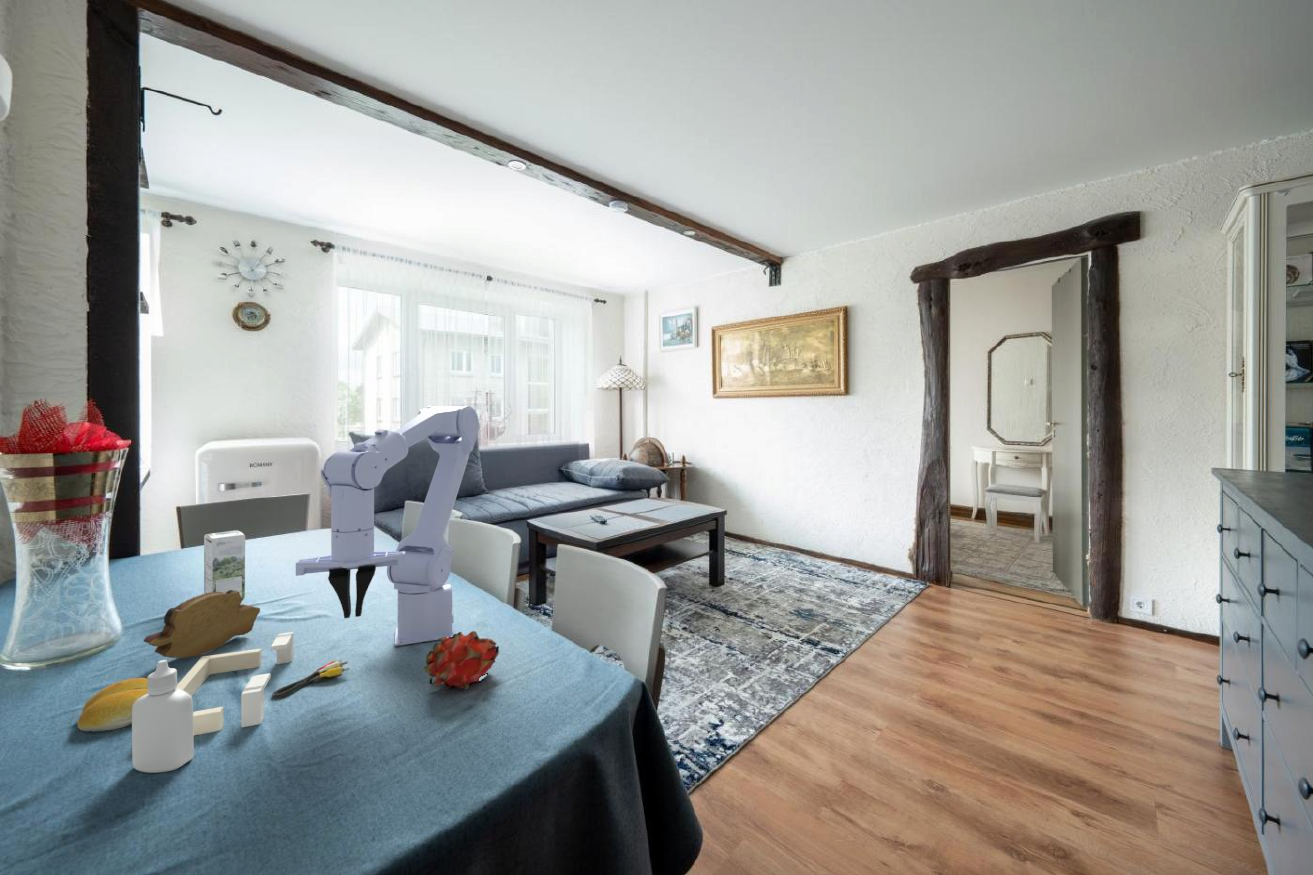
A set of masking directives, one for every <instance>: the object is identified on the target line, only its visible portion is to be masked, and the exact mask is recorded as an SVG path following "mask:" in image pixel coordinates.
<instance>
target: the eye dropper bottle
mask: <svg viewBox="0 0 1313 875" xmlns="http://www.w3.org/2000/svg"><path fill="white" fill-rule="evenodd" d="M147 678H148V694H146V695H144V696H142V697H140V698H139V699H137V700H136V701H135V702H134V704H133V707H132V724H131V746H132V750H131V752H132V753H131V755H132V767H133V769H134V770H137V771H139V772H142V773H149V774H152V773H153V774H157V773H165V772H171V771H175V770H177V769H179V768H180V767H182V766H184V765H185V764H186V763H189V761H191V760H192V759H193V758H194V753H195V750H194V749H195V748H194V747H195V746H194V738H195V736H193V712H194V702H193V696H192V697H191V695H190V694H188V693H187V692H185V691H183V690H181V689H179V688H176V687H177V685H178V670H177V669H176V668H172V667H169V664H168V661H167V659H162V660H158V661H157V665H156V669H155V671H153V672H151V673H150V674H148V676H147Z"/></svg>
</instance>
